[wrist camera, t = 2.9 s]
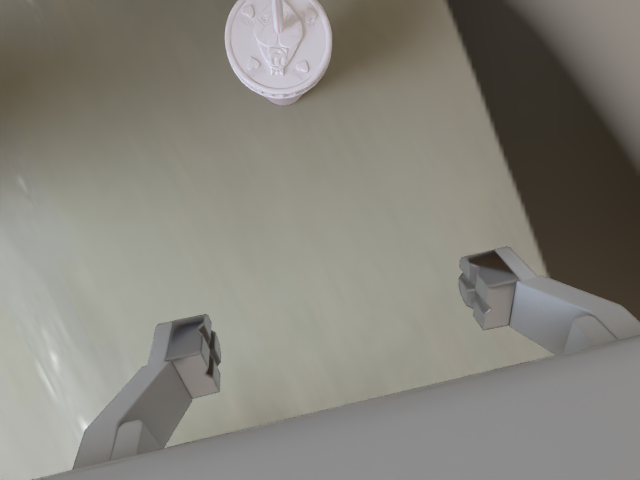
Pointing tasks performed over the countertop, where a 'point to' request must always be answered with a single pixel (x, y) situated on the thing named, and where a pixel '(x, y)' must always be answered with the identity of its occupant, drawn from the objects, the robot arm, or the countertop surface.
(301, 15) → the smoothie
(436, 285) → the countertop surface
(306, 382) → the countertop surface
